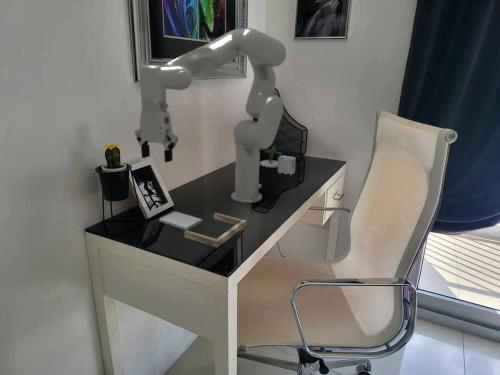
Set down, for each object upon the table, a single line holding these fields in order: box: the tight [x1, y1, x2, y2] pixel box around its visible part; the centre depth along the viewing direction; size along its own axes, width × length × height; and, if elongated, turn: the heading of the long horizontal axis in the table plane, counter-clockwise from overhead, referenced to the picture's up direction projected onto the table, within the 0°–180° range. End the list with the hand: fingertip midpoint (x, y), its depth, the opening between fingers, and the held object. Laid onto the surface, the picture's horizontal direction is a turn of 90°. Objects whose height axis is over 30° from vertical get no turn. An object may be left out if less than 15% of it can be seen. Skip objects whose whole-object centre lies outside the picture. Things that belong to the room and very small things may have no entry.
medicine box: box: [277, 154, 297, 176], centre depth 175 cm, size 8×4×9 cm, turn 58°
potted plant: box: [259, 145, 284, 168], centre depth 190 cm, size 12×12×10 cm
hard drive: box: [158, 211, 204, 231], centre depth 118 cm, size 2×8×12 cm
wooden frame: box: [184, 212, 247, 248], centre depth 111 cm, size 17×12×2 cm
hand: (157, 159), depth 113 cm, fingers open, 9 cm apart
